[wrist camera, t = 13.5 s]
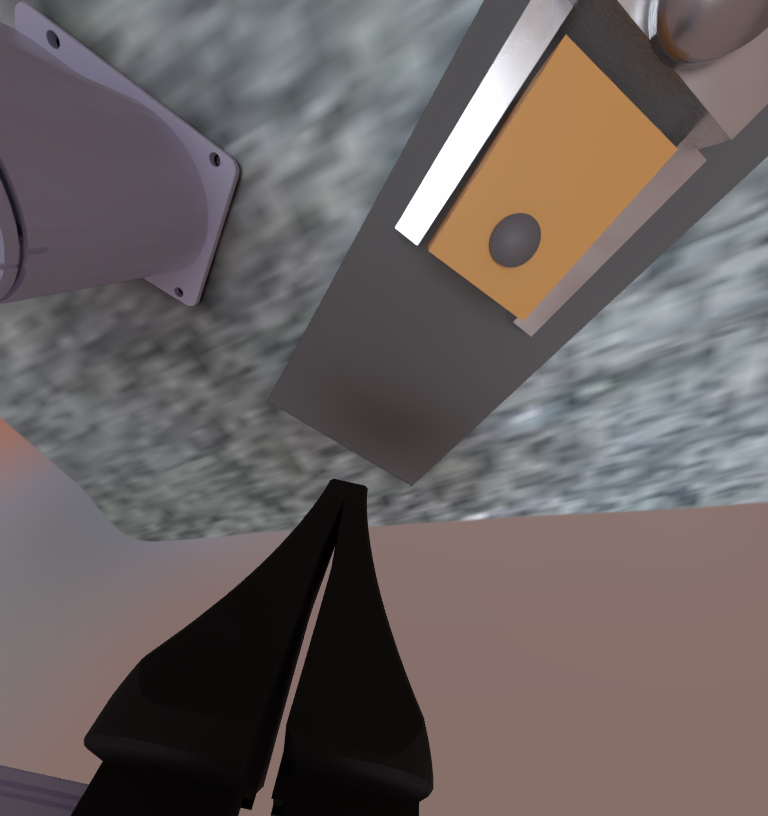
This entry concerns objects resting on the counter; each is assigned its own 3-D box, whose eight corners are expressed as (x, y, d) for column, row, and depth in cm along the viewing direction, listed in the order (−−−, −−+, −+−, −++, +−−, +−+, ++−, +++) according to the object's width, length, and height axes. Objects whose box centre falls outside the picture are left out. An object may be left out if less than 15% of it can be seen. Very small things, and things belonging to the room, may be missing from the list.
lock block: (426, 244, 15) (428, 251, 11) (520, 96, 12) (570, 28, 8) (498, 298, 15) (525, 323, 11) (602, 172, 13) (685, 147, 9)
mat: (271, 396, 21) (267, 400, 20) (664, -325, 8) (680, -363, 7) (412, 480, 23) (411, 486, 23) (884, 35, 10) (908, 25, 10)
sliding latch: (397, 227, 14) (390, 227, 11) (611, -129, 9) (716, -328, 6) (522, 327, 16) (547, 352, 13) (764, 75, 11) (909, 10, 8)
